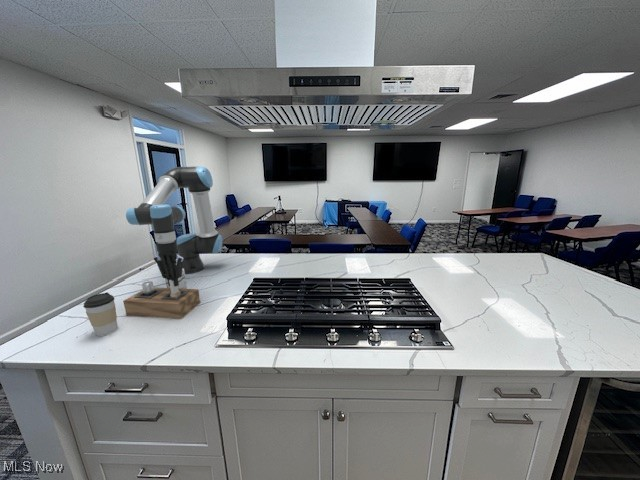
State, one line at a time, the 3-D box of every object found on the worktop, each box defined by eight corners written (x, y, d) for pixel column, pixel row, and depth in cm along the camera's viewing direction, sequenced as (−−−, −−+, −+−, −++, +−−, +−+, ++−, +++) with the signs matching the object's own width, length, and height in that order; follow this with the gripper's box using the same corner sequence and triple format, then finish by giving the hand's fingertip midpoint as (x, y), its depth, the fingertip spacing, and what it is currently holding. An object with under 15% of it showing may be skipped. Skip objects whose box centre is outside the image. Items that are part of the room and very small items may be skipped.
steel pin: (149, 295, 116) (146, 281, 114) (157, 295, 116) (154, 281, 114) (142, 299, 112) (139, 284, 110) (150, 299, 112) (147, 285, 110)
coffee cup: (97, 340, 93) (87, 304, 89) (87, 333, 97) (77, 298, 93) (125, 327, 100) (117, 293, 96) (114, 321, 104) (106, 289, 101)
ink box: (175, 295, 127) (172, 274, 124) (167, 295, 128) (163, 273, 125) (187, 288, 135) (184, 268, 132) (179, 287, 136) (176, 267, 133)
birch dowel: (176, 304, 115) (174, 290, 114) (184, 305, 115) (182, 291, 113) (170, 309, 112) (168, 294, 110) (178, 309, 111) (176, 295, 109)
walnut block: (151, 300, 123) (148, 286, 121) (200, 302, 120) (198, 288, 118) (126, 315, 109) (122, 300, 107) (181, 318, 106) (178, 302, 104)
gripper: (145, 243, 103) (155, 295, 109) (174, 244, 101) (183, 297, 107) (158, 239, 110) (167, 288, 116) (186, 239, 108) (193, 289, 114)
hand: (175, 292), depth 111 cm, fingers closed
